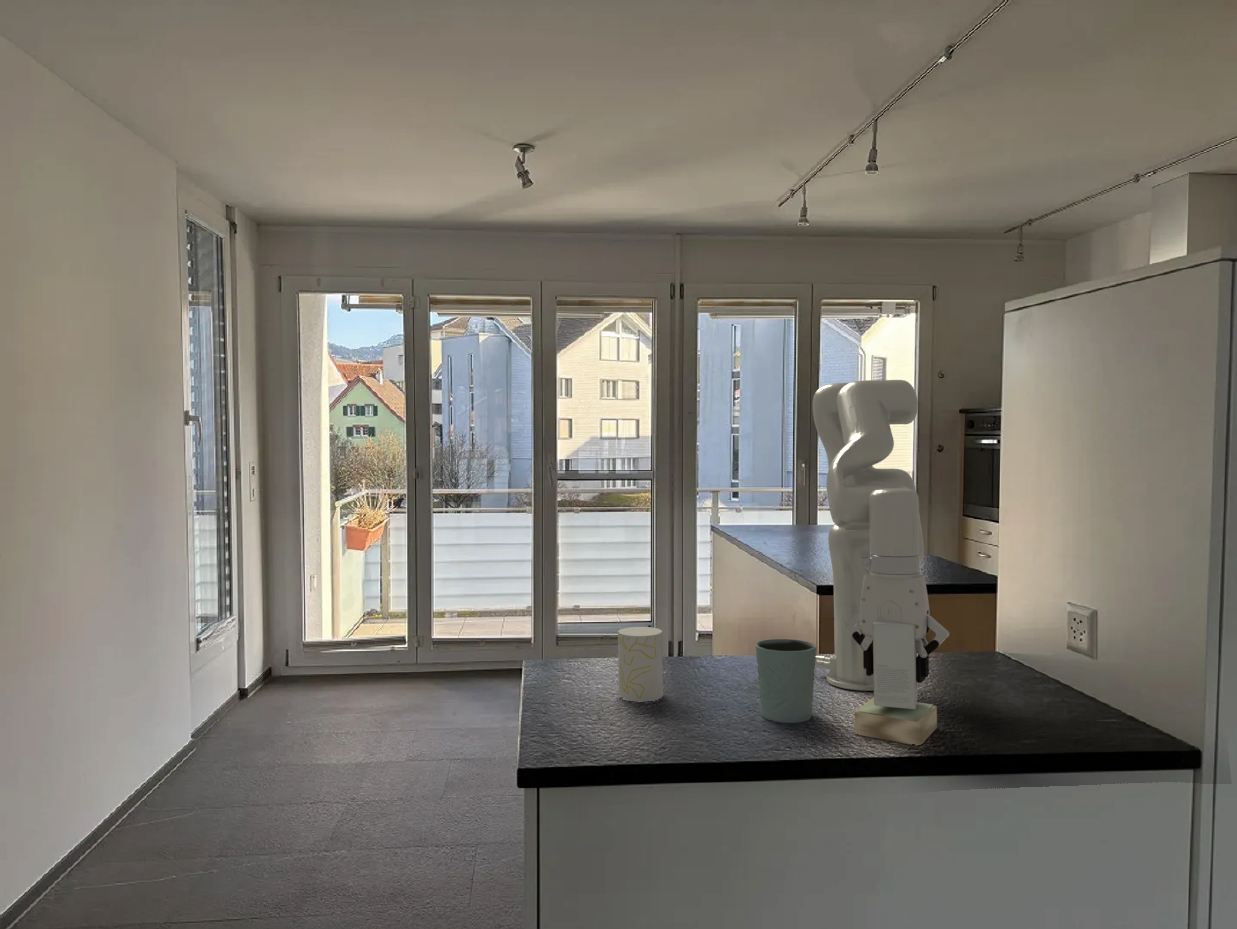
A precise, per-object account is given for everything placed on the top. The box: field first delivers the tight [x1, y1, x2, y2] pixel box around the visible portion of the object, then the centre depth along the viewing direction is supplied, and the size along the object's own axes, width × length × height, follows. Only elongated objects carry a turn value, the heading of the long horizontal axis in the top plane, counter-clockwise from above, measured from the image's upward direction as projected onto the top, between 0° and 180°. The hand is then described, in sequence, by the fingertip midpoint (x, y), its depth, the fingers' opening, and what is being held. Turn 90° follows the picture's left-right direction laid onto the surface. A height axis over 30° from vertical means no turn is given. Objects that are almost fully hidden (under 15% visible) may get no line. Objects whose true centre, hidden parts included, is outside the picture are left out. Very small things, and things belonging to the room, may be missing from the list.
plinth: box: [854, 696, 938, 746], centre depth 132 cm, size 10×10×4 cm
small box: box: [873, 621, 919, 709], centre depth 132 cm, size 8×6×13 cm
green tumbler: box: [754, 638, 817, 724], centre depth 141 cm, size 10×10×12 cm
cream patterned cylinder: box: [617, 626, 664, 702], centre depth 153 cm, size 8×8×12 cm
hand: (895, 676), depth 132 cm, fingers closed on small box, 7 cm apart
